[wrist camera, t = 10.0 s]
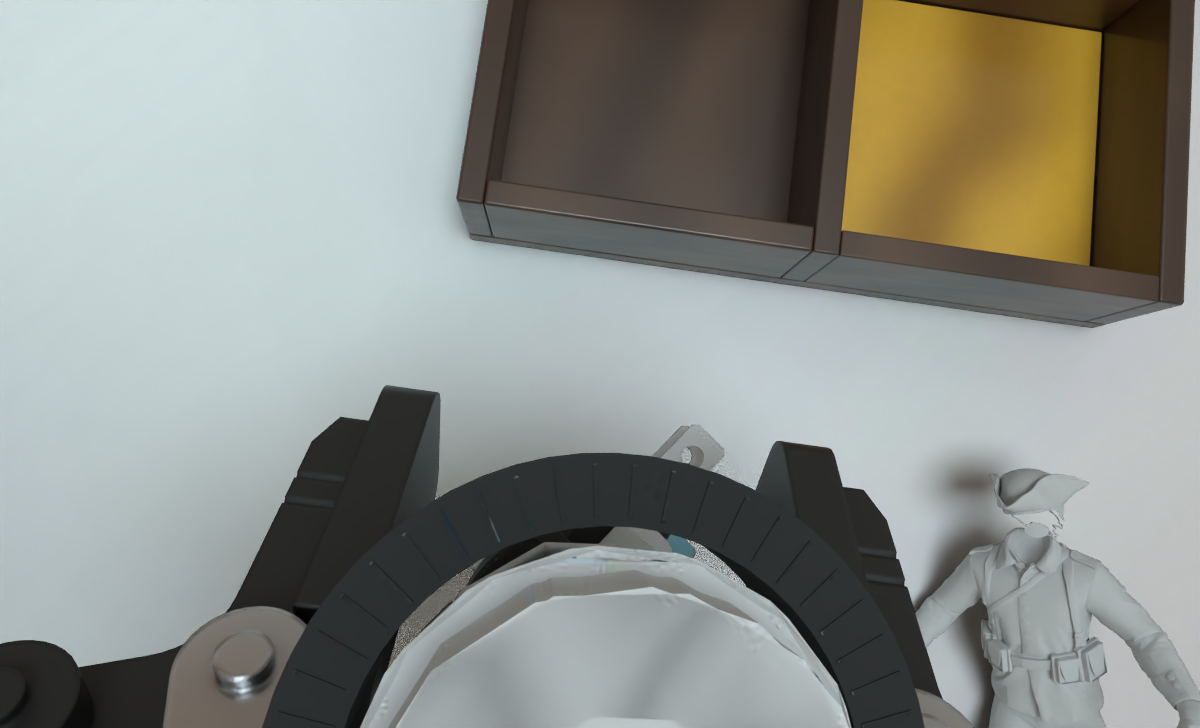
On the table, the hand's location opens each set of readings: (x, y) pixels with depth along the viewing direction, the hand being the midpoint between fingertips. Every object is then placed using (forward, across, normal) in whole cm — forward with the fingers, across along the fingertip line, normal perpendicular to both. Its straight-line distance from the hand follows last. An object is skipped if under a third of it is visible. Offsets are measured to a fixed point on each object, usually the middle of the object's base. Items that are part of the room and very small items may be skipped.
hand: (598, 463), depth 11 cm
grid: (+19, -6, -3) cm, 20 cm away
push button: (+2, 0, +4) cm, 5 cm away
